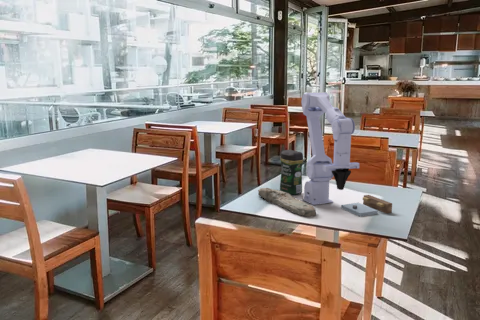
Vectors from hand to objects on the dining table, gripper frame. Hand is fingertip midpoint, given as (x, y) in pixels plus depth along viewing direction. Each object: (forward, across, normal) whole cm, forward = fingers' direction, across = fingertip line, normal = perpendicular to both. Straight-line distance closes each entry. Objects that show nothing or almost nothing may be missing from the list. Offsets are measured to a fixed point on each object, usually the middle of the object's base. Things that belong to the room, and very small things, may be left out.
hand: (340, 189), depth 157 cm
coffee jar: (+10, -2, +32) cm, 34 cm away
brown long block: (+9, +18, 0) cm, 20 cm away
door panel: (+10, +9, 0) cm, 13 cm away
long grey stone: (+10, -12, +18) cm, 24 cm away
